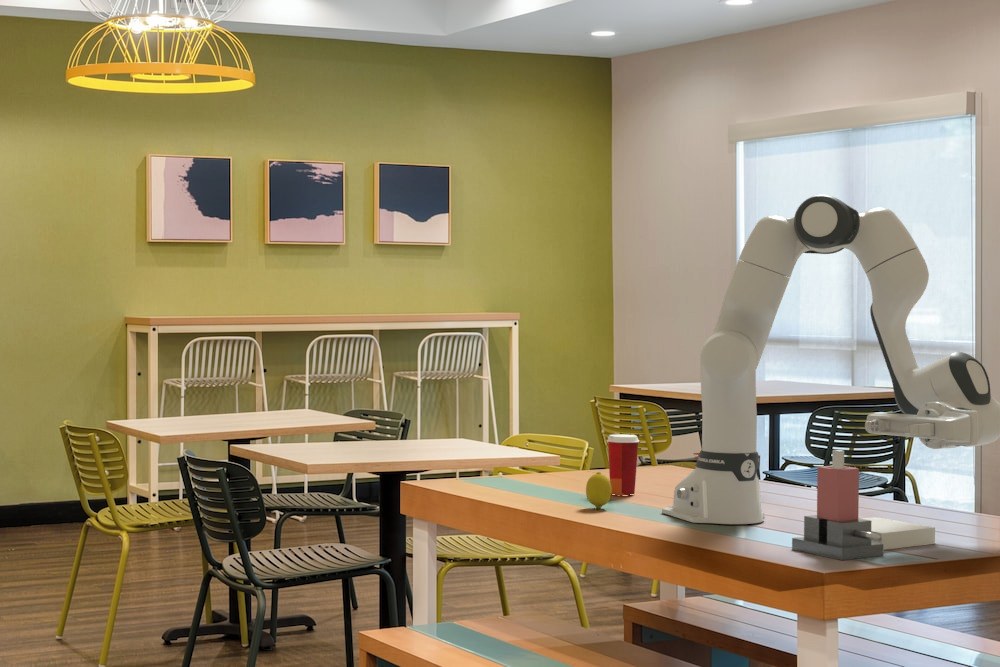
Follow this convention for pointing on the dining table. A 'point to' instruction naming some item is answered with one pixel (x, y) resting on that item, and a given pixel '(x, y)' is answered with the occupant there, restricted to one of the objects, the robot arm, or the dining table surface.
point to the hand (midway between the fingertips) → (887, 428)
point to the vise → (838, 533)
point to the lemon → (598, 490)
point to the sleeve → (837, 493)
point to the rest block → (901, 533)
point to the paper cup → (622, 463)
